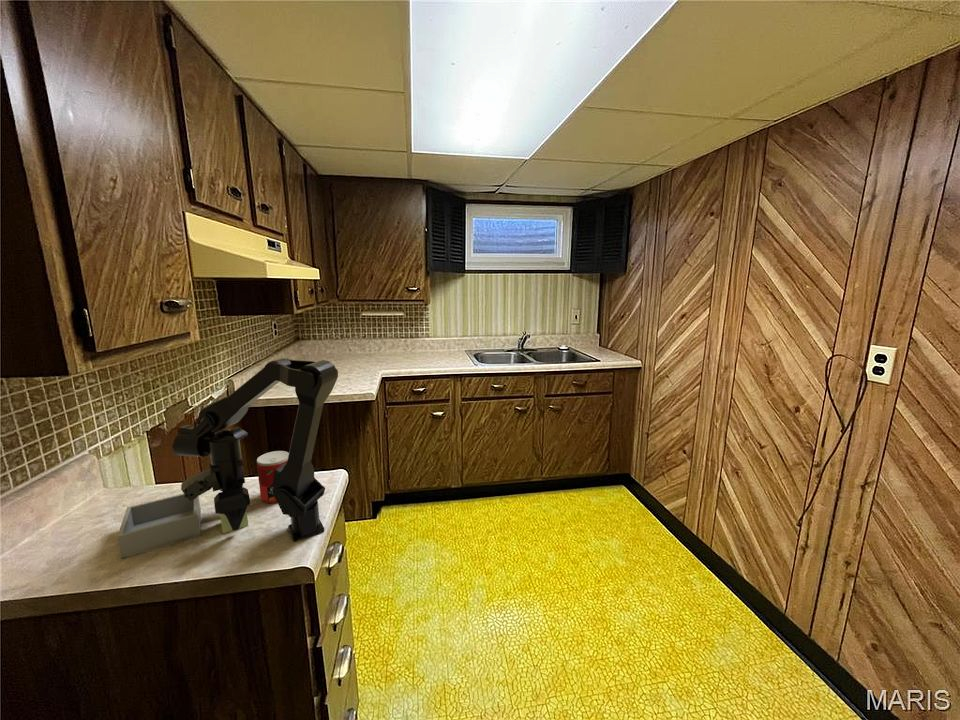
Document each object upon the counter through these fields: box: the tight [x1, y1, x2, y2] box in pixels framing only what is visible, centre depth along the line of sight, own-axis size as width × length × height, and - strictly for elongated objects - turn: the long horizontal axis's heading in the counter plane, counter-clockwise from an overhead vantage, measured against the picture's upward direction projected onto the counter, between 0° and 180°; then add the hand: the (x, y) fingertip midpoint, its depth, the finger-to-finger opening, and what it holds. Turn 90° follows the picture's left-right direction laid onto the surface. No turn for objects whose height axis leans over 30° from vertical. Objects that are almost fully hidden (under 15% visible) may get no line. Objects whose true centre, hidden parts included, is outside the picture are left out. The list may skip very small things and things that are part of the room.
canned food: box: [256, 450, 289, 504], centre depth 100 cm, size 8×8×11 cm
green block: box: [219, 508, 249, 534], centre depth 89 cm, size 5×5×6 cm
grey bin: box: [116, 493, 202, 560], centre depth 86 cm, size 13×13×5 cm
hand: (234, 520), depth 89 cm, fingers open, 9 cm apart
